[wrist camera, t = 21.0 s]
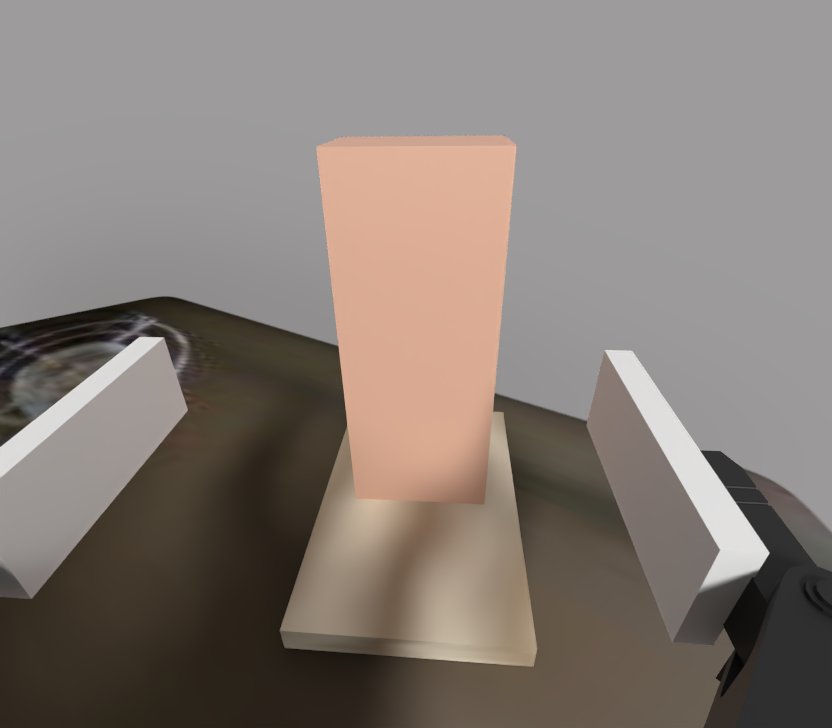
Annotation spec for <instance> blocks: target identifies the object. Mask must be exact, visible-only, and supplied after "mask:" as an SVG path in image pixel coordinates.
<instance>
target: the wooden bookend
mask: <svg viewBox="0 0 832 728" xmlns="http://www.w3.org/2000/svg"><path fill="white" fill-rule="evenodd" d="M502 303H503V302H502ZM499 336H500V335H499ZM498 347H499V346H498ZM493 403H494V402H493ZM280 634H281V637H282V641H283V644H284V647H285V648H292V649H305V650H319V651H332V652H345V653H358V654H371V655H385V656H398V657H411V658H424V659H438V660H451V661H464V662H477V663H490V664H504V665H517V666H530V667H533V666H534V661H535V657H536V652H537V645H536V638H535V631H534V624H533V617H532V610H531V603H530V596H529V589H528V583H527V576H526V569H525V562H524V555H523V548H522V541H521V534H520V527H519V520H518V513H517V506H516V499H515V492H514V485H513V478H512V471H511V464H510V458H509V451H508V444H507V437H506V430H505V423H504V416H503V412H493V413H492V424H491V435H490V446H489V458H488V469H487V480H486V491H485V502H484V504H465V503H444V502H422V501H401V500H379V499H357V498H356V495H355V487H354V478H353V469H352V460H351V451H350V442H349V433H348V425H347V428H346V431H345V434H344V437H343V440H342V443H341V446H340V449H339V453H338V456H337V459H336V462H335V465H334V468H333V471H332V474H331V477H330V480H329V483H328V486H327V489H326V492H325V495H324V498H323V501H322V504H321V507H320V510H319V513H318V516H317V519H316V522H315V525H314V528H313V531H312V534H311V537H310V540H309V543H308V546H307V549H306V552H305V555H304V558H303V561H302V564H301V567H300V571H299V574H298V577H297V580H296V583H295V586H294V589H293V592H292V595H291V598H290V601H289V604H288V607H287V610H286V613H285V616H284V619H283V622H282V625H281V628H280Z"/></svg>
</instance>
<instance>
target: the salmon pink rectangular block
mask: <svg viewBox="0 0 832 728" xmlns="http://www.w3.org/2000/svg"><path fill="white" fill-rule="evenodd" d="M316 149H317V158H318V167H319V176H320V184H321V193H322V202H323V211H324V219H325V228H326V238H327V247H328V256H329V264H330V273H331V282H332V291H333V300H334V309H335V317H336V327H337V335H338V344H339V353H340V362H341V371H342V380H343V389H344V398H345V407H346V415H347V424H348V433H349V442H350V451H351V460H352V469H353V478H354V487H355V495H356V498H357V499H379V500H401V501H422V502H444V503H465V504H484V502H485V491H486V480H487V469H488V458H489V446H490V435H491V424H492V413H493V402H494V391H495V380H496V369H497V368H496V367H497V358H498V346H499V335H500V324H501V313H502V301H503V291H504V279H505V268H506V258H507V246H508V235H509V224H510V213H511V202H512V191H513V180H514V169H515V157H516V145H515V144H514V143H513V142H512V141H511V140H509V139H508V138H507V137H506V136H394V137H393V136H392V137H390V136H389V137H341V138H338V139H336V140H333V141H330V142H328V143H326V144H323V145H320V146H317V147H316Z"/></svg>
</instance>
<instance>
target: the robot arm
mask: <svg viewBox="0 0 832 728" xmlns="http://www.w3.org/2000/svg"><path fill="white" fill-rule="evenodd" d="M187 411H188V409H187V406H186V403H185V400H184V397H183V394H182V391H181V388H180V385H179V382H178V379H177V376H176V373H175V370H174V367H173V364H172V361H171V358H170V355H169V352H168V349H167V346H166V343H165V340H164V338H160V337H139V338H138V339H137V340H135V341H134V342H133V343H131V344H130V345H129V346H128V347H126V348H125V349H124V350H123V351H121V352H120V353H119V354H118V355H116V356H115V357H114V358H112V359H111V360H110V361H109V362H107V363H106V364H105V365H104V366H102V367H101V368H100V369H99V370H97V371H96V372H95V373H93V374H92V375H91V376H90V377H88V378H87V379H86V380H85V381H83V382H82V383H81V384H80V385H78V386H77V387H76V388H74V389H73V390H72V391H71V392H69V393H68V394H67V395H66V396H64V397H63V398H62V399H61V400H59V401H58V402H57V403H55V404H54V405H53V406H52V407H50V408H49V409H48V410H47V411H45V412H44V413H43V414H42V415H40V416H39V417H38V418H36V419H35V420H34V421H33V422H31V423H30V424H29V425H27V426H25V427H23V428H21V429H20V430H18V431H16V432H14V433H12V434H10V435H8V436H6V437H5V438H3V439H2V440H1V441H0V597H10V598H25V599H32V598H33V597H34V595H35V594H36V593H37V592H38V591H39V589H40V588H41V587H42V586H43V585H44V583H45V582H46V581H47V580H48V579H49V577H50V576H51V575H52V574H53V573H54V571H55V570H56V569H57V568H58V566H59V565H60V564H61V563H62V562H63V560H64V559H65V558H66V557H67V556H68V554H69V553H70V552H71V551H72V550H73V548H74V547H75V546H76V545H77V544H78V542H79V541H80V540H81V539H82V537H83V536H84V535H85V534H86V533H87V531H88V530H89V529H90V528H91V527H92V525H93V524H94V523H95V522H96V521H97V519H98V518H99V517H100V516H101V515H102V513H103V512H104V511H105V510H106V509H107V507H108V506H109V505H110V504H111V502H112V501H113V500H114V499H115V498H116V496H117V495H118V494H119V493H120V492H121V490H122V489H123V488H124V487H125V486H126V484H127V483H128V482H129V481H130V480H131V478H132V477H133V476H134V475H135V473H136V472H137V471H138V470H139V469H140V467H141V466H142V465H143V464H144V463H145V461H146V460H147V459H148V458H149V457H150V455H151V454H152V453H153V452H154V451H155V449H156V448H157V447H158V446H159V445H160V443H161V442H162V441H163V440H164V438H165V437H166V436H167V435H168V434H169V432H170V431H171V430H172V429H173V428H174V426H175V425H176V424H177V423H178V422H179V420H180V419H181V418H182V417H183V416H184V414H185V413H186V412H187ZM587 428H588V430H589V433H590V436H591V438H592V441H593V443H594V446H595V448H596V451H597V453H598V456H599V458H600V461H601V463H602V466H603V468H604V471H605V474H606V476H607V479H608V481H609V484H610V486H611V489H612V491H613V494H614V496H615V499H616V501H617V504H618V506H619V509H620V512H621V514H622V517H623V519H624V522H625V524H626V527H627V529H628V532H629V534H630V537H631V539H632V542H633V544H634V547H635V550H636V552H637V555H638V557H639V560H640V562H641V565H642V567H643V570H644V572H645V575H646V577H647V580H648V582H649V585H650V588H651V590H652V593H653V595H654V598H655V600H656V603H657V605H658V608H659V610H660V613H661V615H662V618H663V621H664V623H665V626H666V628H667V631H668V633H669V636H670V638H671V641H672V642H675V643H690V644H704V645H714V643H715V641H716V640H717V638H718V637H719V635H720V633H721V632H722V630H723V628H725V630H726V632H727V634H728V636H729V638H730V640H731V642H732V644H733V646H734V648H735V650H734V651H733V653H732V654H731V656H730V657H729V659H728V660H727V662H726V663H725V665H724V666H723V668H722V669H721V671H720V672H719V674H718V675H717V677H716V679H718V680H719V681H721V682H720V685H719V687H718V690H717V693H716V696H715V698H714V701H713V704H712V707H711V709H710V712H709V715H708V718H707V720H706V723H705V726H704V728H832V572H830V571H828V570H825V569H823V568H820V567H817V566H816V564H815V563H814V562H813V560H812V559H811V558H810V557H809V555H808V554H807V553H806V551H805V550H804V549H803V547H802V546H801V545H800V543H799V542H798V541H797V539H796V538H795V537H794V535H793V534H792V533H791V532H790V530H789V529H788V528H787V526H786V525H785V524H784V522H783V521H782V520H781V518H780V517H779V516H778V514H777V513H776V512H775V511H774V509H773V508H772V507H771V506H768V501H767V500H766V499H765V497H764V496H763V495H762V493H761V492H760V491H759V490H756V486H755V484H754V483H753V482H752V480H751V479H750V478H749V476H748V475H747V474H746V472H745V471H744V470H743V468H742V467H740V466H739V465H738V464H736V463H735V462H734V461H732V460H731V459H730V458H728V457H727V456H726V455H724V454H723V453H722V452H720V451H701V450H699V448H698V447H697V445H696V444H695V442H694V441H693V440H692V438H691V437H690V435H689V434H688V433H687V431H686V429H685V428H684V426H683V425H682V424H681V422H680V421H679V419H678V418H677V416H676V415H675V413H674V412H673V410H672V409H671V407H670V406H669V404H668V403H667V401H666V400H665V399H664V397H663V396H662V394H661V393H660V391H659V390H658V388H657V387H656V385H655V384H654V382H653V381H652V379H651V378H650V376H649V375H648V374H647V372H646V371H645V369H644V368H643V366H642V365H641V363H640V362H639V360H638V359H637V357H636V356H635V354H634V353H633V352H632V351H619V350H605V351H604V355H603V359H602V363H601V367H600V372H599V376H598V380H597V384H596V389H595V393H594V397H593V401H592V405H591V410H590V414H589V418H588V422H587Z"/></svg>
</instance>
